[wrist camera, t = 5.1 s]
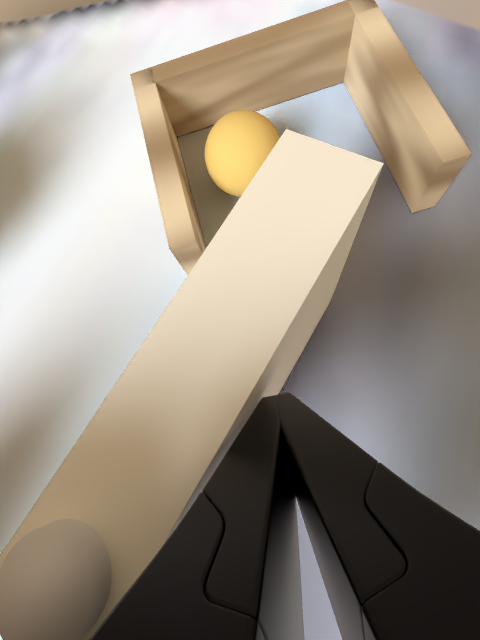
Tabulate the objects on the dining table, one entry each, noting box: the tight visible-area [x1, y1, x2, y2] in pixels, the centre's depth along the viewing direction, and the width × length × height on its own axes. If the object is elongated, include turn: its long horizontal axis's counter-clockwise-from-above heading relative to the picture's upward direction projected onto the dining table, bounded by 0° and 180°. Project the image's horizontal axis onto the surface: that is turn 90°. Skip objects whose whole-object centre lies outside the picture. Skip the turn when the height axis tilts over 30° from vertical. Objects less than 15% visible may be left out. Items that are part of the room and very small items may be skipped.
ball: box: [205, 110, 280, 197], centre depth 17 cm, size 4×4×4 cm
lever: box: [0, 129, 384, 640], centre depth 10 cm, size 2×11×9 cm, turn 149°
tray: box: [130, 0, 472, 275], centre depth 17 cm, size 11×13×4 cm
